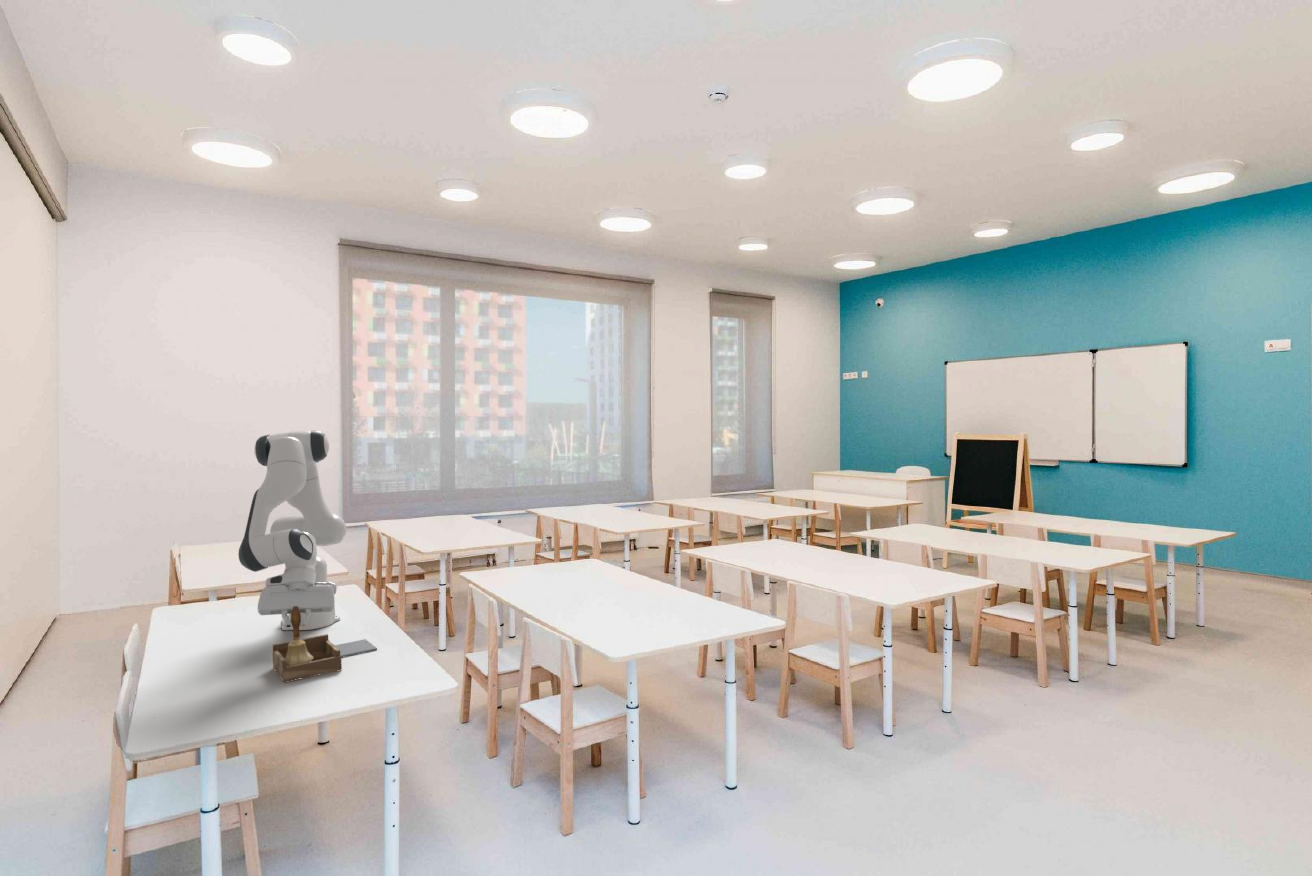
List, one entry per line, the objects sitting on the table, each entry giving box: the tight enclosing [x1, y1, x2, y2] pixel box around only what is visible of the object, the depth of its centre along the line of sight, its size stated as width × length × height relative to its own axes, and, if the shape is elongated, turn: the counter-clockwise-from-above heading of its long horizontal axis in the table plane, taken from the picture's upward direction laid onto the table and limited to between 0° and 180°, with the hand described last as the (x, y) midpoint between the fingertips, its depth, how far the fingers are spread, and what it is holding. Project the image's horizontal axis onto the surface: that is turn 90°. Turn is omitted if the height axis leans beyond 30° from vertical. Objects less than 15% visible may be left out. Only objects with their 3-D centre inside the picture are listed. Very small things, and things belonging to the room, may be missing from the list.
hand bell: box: [285, 606, 313, 667], centre depth 206 cm, size 8×8×16 cm
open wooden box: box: [272, 633, 342, 683], centre depth 207 cm, size 15×15×7 cm
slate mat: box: [334, 638, 378, 658], centre depth 224 cm, size 12×12×1 cm
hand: (295, 625), depth 205 cm, fingers closed on hand bell, 3 cm apart
